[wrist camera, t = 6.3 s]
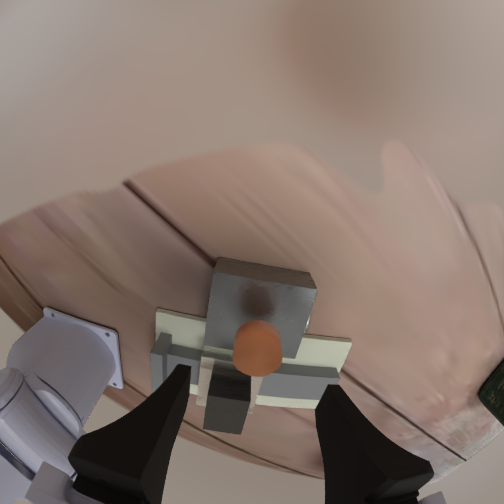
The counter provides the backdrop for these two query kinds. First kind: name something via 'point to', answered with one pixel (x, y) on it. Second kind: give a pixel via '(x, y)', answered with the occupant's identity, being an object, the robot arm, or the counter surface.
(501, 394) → the coffee jar
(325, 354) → the track board
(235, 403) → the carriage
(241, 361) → the plunger
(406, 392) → the counter surface
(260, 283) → the gauge box
